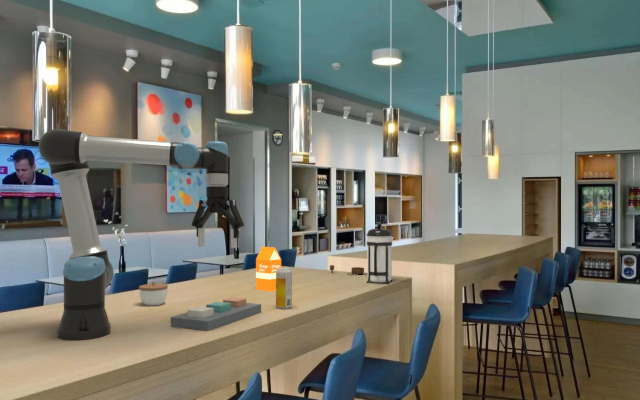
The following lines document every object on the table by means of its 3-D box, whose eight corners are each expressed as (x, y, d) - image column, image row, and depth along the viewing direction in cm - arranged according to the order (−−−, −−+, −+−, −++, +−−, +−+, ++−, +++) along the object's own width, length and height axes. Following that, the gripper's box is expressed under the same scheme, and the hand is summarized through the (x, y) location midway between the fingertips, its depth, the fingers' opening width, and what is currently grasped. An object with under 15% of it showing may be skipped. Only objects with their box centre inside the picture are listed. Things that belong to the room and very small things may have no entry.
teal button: (220, 314, 185) (220, 306, 185) (206, 313, 188) (206, 304, 188) (230, 311, 191) (230, 303, 191) (216, 310, 193) (216, 301, 193)
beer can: (283, 305, 213) (283, 267, 213) (295, 307, 209) (295, 268, 210) (272, 308, 209) (272, 268, 209) (284, 310, 205) (284, 270, 205)
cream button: (202, 320, 176) (202, 311, 176) (187, 319, 179) (187, 309, 179) (213, 317, 182) (213, 308, 182) (199, 315, 184) (199, 306, 184)
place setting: (356, 279, 290) (356, 268, 290) (327, 276, 303) (327, 265, 303) (375, 276, 304) (375, 265, 304) (347, 273, 317) (347, 262, 317)
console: (208, 330, 172) (208, 321, 172) (170, 326, 178) (170, 317, 178) (261, 312, 201) (261, 304, 201) (227, 308, 207) (227, 301, 207)
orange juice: (267, 288, 256) (267, 246, 256) (281, 290, 250) (281, 247, 250) (255, 290, 250) (255, 247, 250) (269, 292, 244) (269, 248, 244)
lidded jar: (138, 308, 208) (138, 284, 208) (139, 303, 218) (139, 280, 218) (167, 307, 211) (167, 282, 211) (167, 302, 221) (167, 279, 221)
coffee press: (357, 282, 274) (357, 223, 274) (384, 280, 281) (384, 222, 281) (374, 287, 259) (374, 224, 259) (403, 285, 265) (403, 223, 266)
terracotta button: (237, 309, 194) (237, 301, 194) (223, 308, 197) (223, 300, 197) (246, 306, 200) (246, 298, 200) (232, 305, 202) (232, 297, 202)
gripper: (253, 185, 188) (253, 247, 188) (194, 186, 199) (194, 245, 199) (242, 185, 182) (242, 249, 182) (181, 186, 192) (181, 246, 192)
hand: (217, 247), depth 190 cm, fingers open, 13 cm apart
